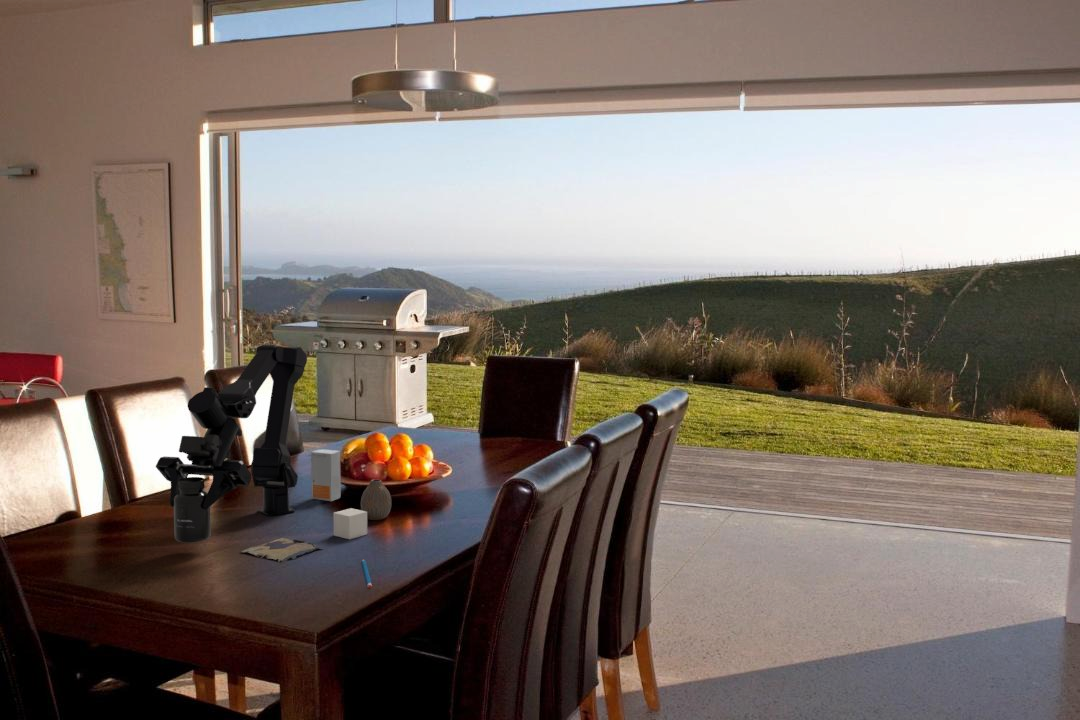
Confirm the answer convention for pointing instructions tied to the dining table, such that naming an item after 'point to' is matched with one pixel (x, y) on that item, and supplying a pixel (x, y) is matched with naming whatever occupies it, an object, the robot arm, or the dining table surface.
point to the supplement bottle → (191, 511)
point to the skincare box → (325, 475)
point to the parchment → (281, 553)
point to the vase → (376, 500)
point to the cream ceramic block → (350, 523)
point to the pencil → (366, 574)
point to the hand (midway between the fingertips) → (187, 507)
